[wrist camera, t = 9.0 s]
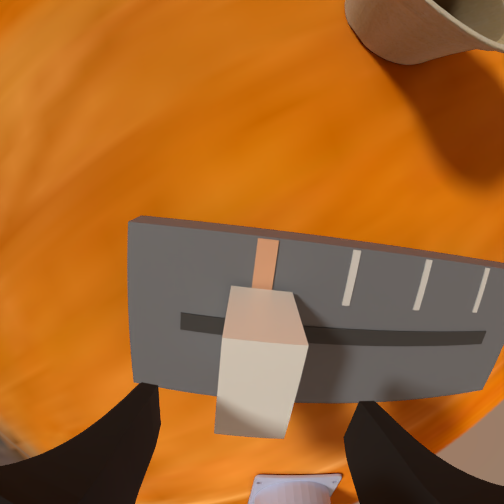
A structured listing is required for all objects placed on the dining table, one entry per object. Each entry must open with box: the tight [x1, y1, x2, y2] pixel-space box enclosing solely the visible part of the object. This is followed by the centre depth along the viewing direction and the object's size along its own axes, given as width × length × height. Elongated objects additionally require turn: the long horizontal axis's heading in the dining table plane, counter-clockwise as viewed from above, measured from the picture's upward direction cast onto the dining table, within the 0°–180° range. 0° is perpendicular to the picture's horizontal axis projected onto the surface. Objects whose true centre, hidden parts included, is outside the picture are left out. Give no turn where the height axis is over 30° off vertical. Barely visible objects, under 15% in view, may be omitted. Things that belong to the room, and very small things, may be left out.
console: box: [128, 216, 504, 403], centre depth 17 cm, size 10×26×2 cm, turn 83°
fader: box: [214, 286, 309, 439], centre depth 14 cm, size 5×3×5 cm, turn 173°
